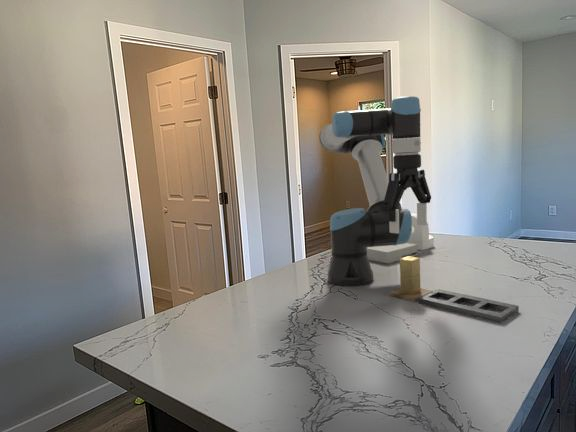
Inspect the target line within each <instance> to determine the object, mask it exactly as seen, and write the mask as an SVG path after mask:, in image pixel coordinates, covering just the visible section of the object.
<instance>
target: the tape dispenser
mask: <svg viewBox="0 0 576 432" xmlns="http://www.w3.org/2000/svg"><path fill="white" fill-rule="evenodd" d="M410 213H411V212H410ZM411 217H412V231H411V236H410V239H409V241H408V242H407V243H410V244H417V250H421V251H424V250H427V249H431V248H434V246H435V243H434V242H435V241H434V236H432V235H431V234H430V228H429V223H428V222H427V225H426V226H424V225H417V213H413V212H412V213H411Z"/></svg>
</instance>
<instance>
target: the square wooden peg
mask: <svg viewBox="0 0 576 432" xmlns="http://www.w3.org/2000/svg"><path fill="white" fill-rule="evenodd" d="M399 274H400V275H399V276H400V279H399V281H400V288H401V292H402V293H406V294H411V295H414V294H416V293H418V292H420V291H421V290H420V288H421V258H420V257H415V256H412V257H410V256H407V257H404V258H401V259H400V260H399Z"/></svg>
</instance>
